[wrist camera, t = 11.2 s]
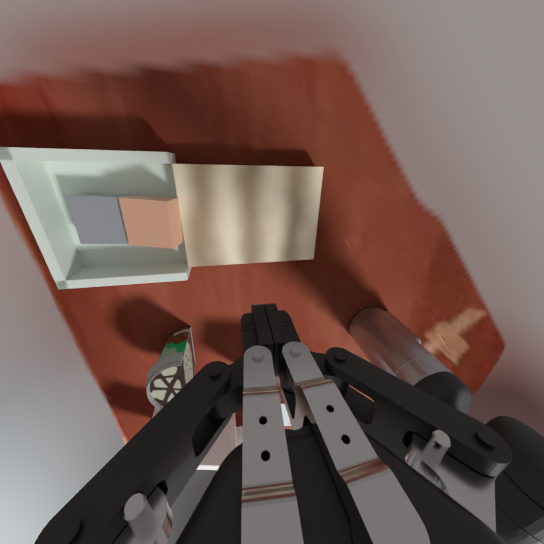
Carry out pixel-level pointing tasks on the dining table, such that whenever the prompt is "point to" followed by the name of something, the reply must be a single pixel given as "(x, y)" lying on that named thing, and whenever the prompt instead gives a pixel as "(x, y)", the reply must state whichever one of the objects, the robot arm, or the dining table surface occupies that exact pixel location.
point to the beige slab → (248, 212)
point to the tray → (92, 179)
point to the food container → (171, 368)
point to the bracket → (220, 445)
